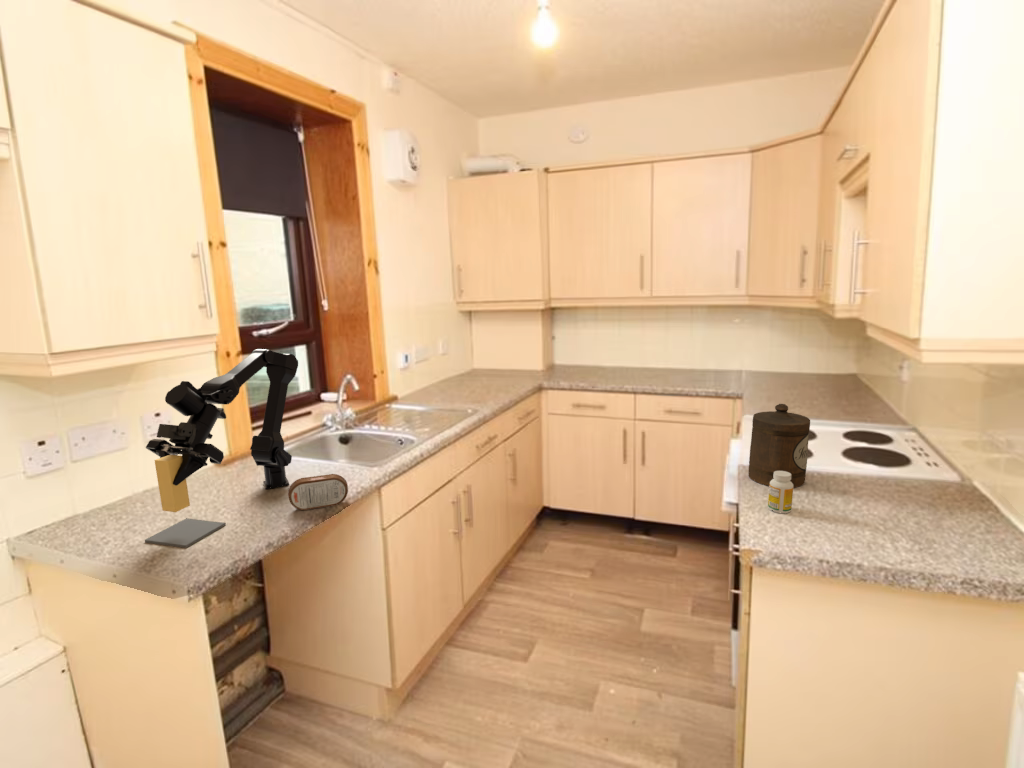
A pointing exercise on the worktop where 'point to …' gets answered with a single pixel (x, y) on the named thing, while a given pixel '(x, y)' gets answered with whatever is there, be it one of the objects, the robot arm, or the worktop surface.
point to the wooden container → (779, 445)
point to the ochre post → (171, 484)
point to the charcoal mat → (185, 532)
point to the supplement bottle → (780, 492)
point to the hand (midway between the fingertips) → (167, 483)
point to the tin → (318, 491)
